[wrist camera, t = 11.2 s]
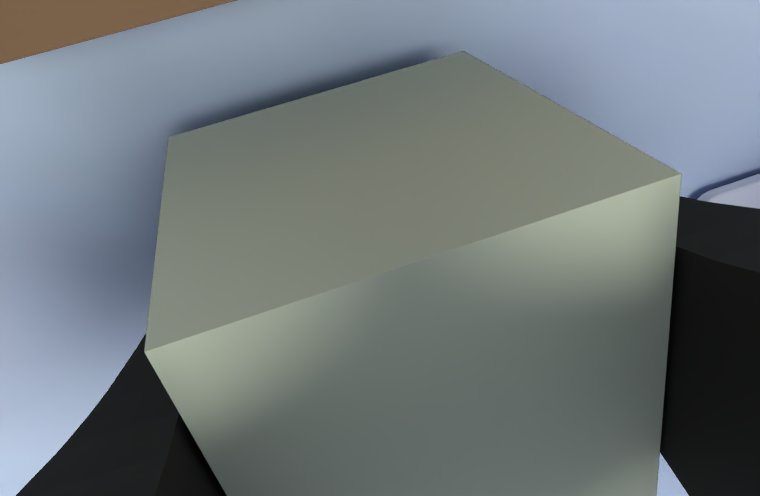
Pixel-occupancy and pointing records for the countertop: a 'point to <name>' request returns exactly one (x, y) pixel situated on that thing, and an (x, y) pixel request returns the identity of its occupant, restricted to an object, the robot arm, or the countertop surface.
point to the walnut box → (79, 21)
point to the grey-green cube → (417, 293)
